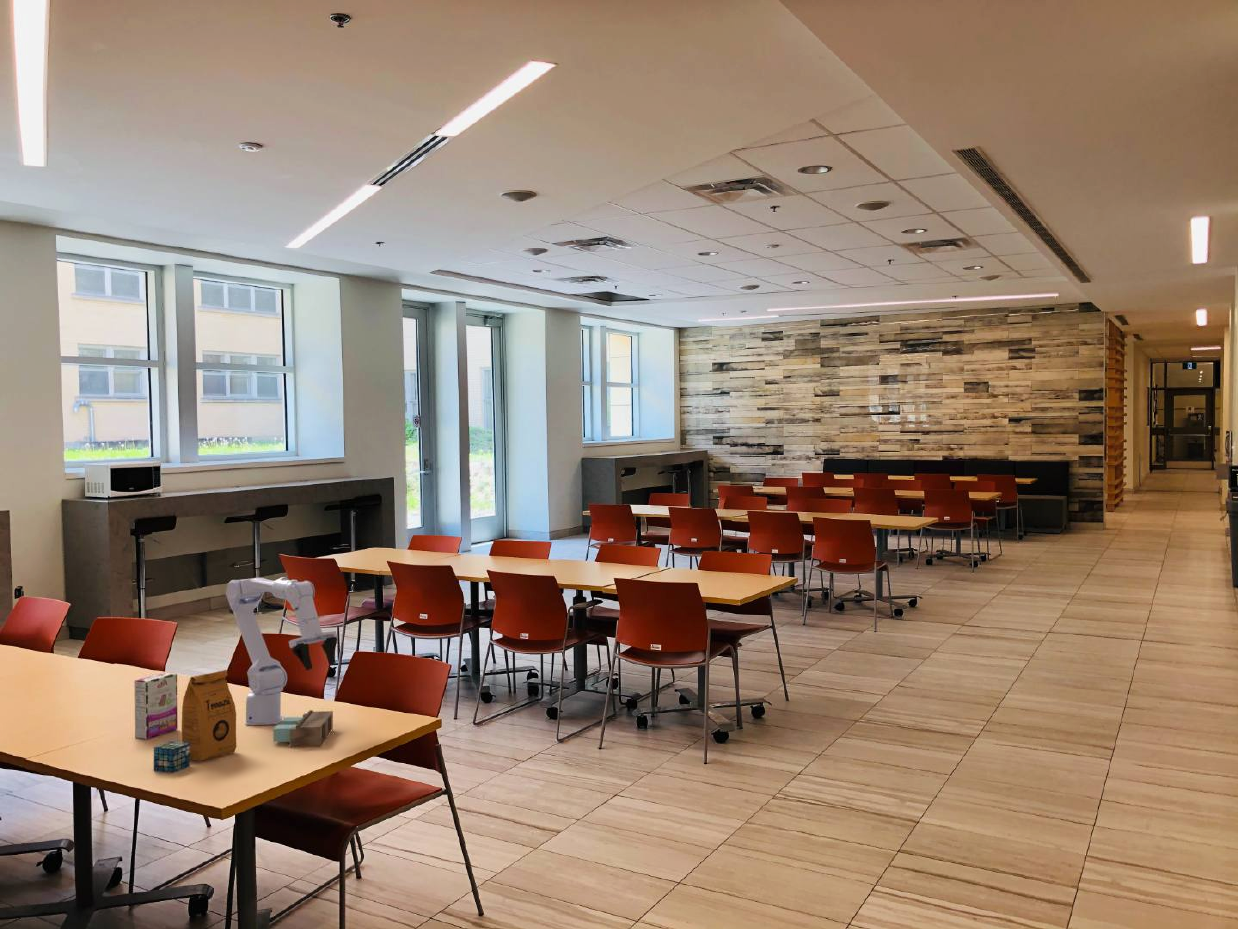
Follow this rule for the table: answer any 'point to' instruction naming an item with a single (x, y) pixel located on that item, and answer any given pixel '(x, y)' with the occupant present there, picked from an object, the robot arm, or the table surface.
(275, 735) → the peg near
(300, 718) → the peg far
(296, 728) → the sleeve block
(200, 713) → the coffee package
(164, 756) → the puzzle
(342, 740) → the table surface
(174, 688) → the candy bar box
